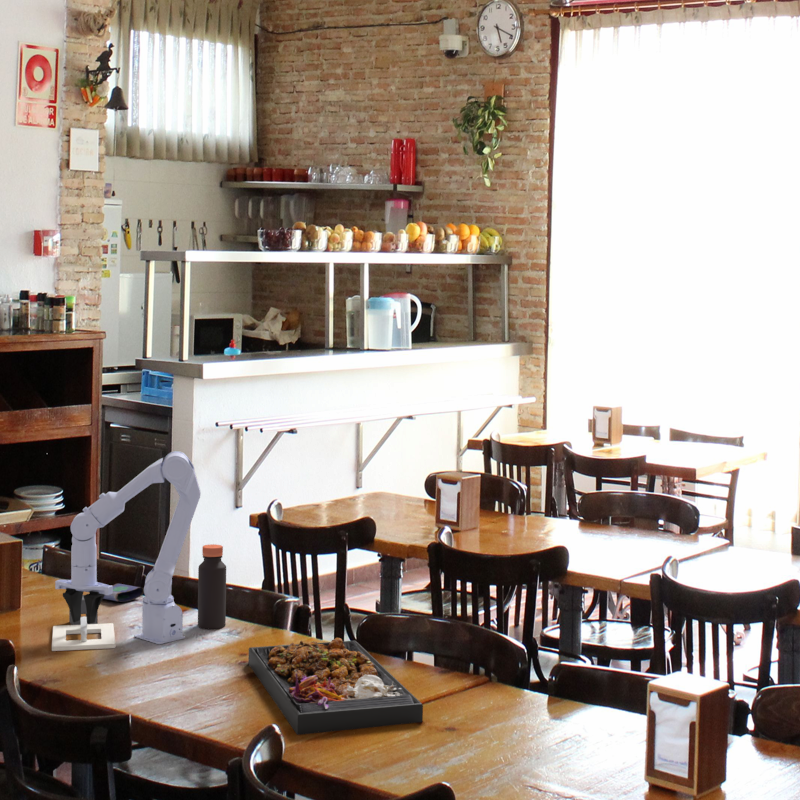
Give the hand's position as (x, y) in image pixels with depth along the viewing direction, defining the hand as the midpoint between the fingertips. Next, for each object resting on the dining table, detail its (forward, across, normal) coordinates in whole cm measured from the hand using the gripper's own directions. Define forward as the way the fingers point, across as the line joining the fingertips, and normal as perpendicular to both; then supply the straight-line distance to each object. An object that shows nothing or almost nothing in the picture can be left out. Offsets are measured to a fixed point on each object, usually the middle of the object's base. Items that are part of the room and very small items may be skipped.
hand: (83, 621), depth 281 cm
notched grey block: (+4, +8, -11) cm, 14 cm away
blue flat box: (+5, +10, -34) cm, 36 cm away
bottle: (+4, -22, -22) cm, 31 cm away
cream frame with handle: (+4, 0, 0) cm, 4 cm away
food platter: (+5, -68, +12) cm, 69 cm away
